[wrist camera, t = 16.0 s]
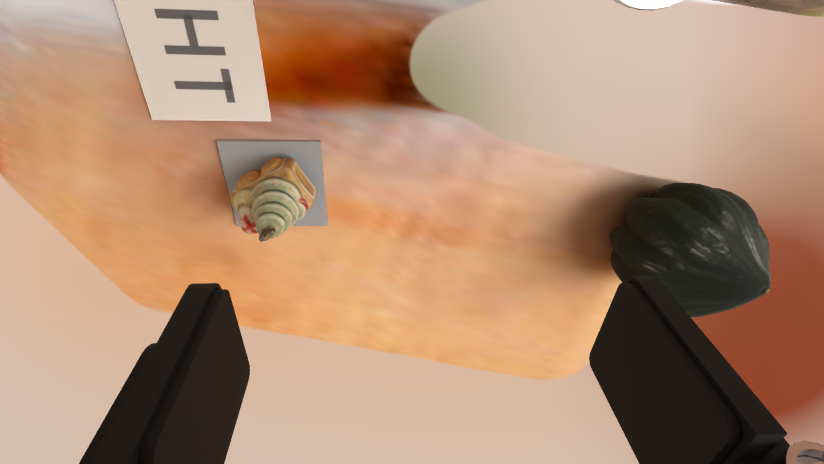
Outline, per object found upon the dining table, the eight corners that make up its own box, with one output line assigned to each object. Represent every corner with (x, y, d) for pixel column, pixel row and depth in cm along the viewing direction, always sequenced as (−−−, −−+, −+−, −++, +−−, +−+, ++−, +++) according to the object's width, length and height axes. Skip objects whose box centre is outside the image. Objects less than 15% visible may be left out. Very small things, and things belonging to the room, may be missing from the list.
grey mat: (320, 140, 42) (319, 142, 42) (327, 223, 48) (327, 225, 48) (217, 139, 41) (216, 141, 41) (237, 224, 47) (236, 226, 47)
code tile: (251, -10, 34) (250, -10, 34) (271, 120, 41) (270, 121, 40) (110, -15, 34) (108, -15, 33) (153, 119, 40) (151, 120, 40)
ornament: (268, 223, 47) (245, 283, 39) (227, 182, 44) (193, 238, 35) (325, 189, 45) (314, 244, 37) (287, 143, 42) (265, 192, 33)
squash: (576, 298, 50) (719, 373, 41) (615, 183, 42) (803, 248, 33) (621, 252, 59) (747, 307, 50) (661, 151, 51) (818, 195, 42)
